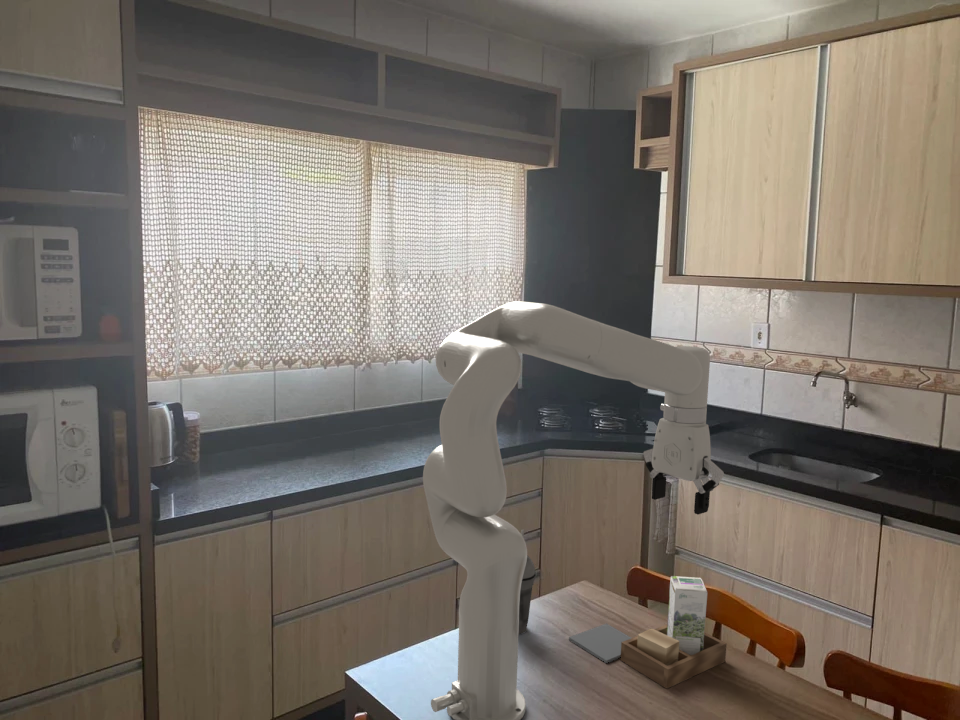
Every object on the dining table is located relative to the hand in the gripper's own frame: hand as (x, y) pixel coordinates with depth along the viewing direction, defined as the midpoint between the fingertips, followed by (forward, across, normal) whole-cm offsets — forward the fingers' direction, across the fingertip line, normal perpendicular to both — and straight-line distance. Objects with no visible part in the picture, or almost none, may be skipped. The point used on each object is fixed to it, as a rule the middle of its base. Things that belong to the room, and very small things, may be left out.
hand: (679, 505), depth 137 cm
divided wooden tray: (+28, +4, -4) cm, 28 cm away
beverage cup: (+28, -22, -20) cm, 41 cm away
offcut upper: (+25, +4, -8) cm, 27 cm away
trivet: (+28, -7, -10) cm, 30 cm away
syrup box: (+28, +4, -1) cm, 28 cm away
